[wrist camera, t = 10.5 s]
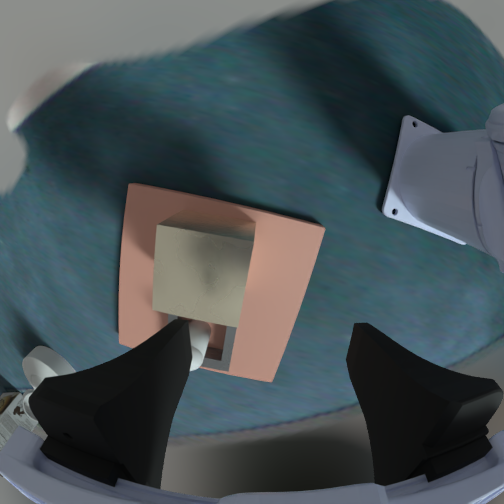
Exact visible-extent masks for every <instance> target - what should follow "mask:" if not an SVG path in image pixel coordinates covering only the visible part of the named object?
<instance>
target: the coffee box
mask: <svg viewBox="0 0 504 504" xmlns="http://www.w3.org/2000/svg"><path fill="white" fill-rule="evenodd" d="M37 423H38V422H37V421H34V420H32V419H31V418H29V417H28V416H27V414H26V413H25V411H24V408H23V395H22V394H21V393H20V392H9V393H2V395H1V396H0V451H1V450H2V449H3V447H4V446H5V444H6V443H7V441H8V440H9V438H10V437H11V435H12V434H13V433H14V431H15V430H16V428H17V427H18V426H22V427H24V428H25V429H27V430H29V431H31V432H32V431H33V429H34V428H35V426H36V425H37ZM0 475H1V474H0ZM1 476H2V475H1ZM2 477H3V476H2Z"/></svg>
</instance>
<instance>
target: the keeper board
mask: <svg viewBox="0 0 504 504" xmlns="http://www.w3.org/2000/svg"><path fill="white" fill-rule="evenodd" d="M181 210H188V211H194V212H200V213H206V214H212V215H218V216H224V217H230V218H235V219H241V220H247V221H252V222H256V228H255V238H254V245H253V250H252V256H251V261H250V266H249V272H248V277H247V282H246V288H245V293H244V298H243V304H242V309H241V314H240V320H239V325H238V328H237V329H236V335H235V340H234V346H233V351H232V356H231V362H230V367H229V372H227V371H222V370H216V369H211V368H206V367H201V364H202V363H203V359H204V356H205V352H206V349H207V347H213V348H218V349H223V347H224V341H225V335H226V329H227V326H226V325H220V324H215V323H210V322H205V321H200V320H195V319H190V318H186V317H182V320H188V321H189V331H190V340H191V348H192V356H193V357H192V362H191V367H190V371H192V370H196V369H197V368H203V369H207V370H212V371H216V372H220V373H225V374H229V375H234V376H239V377H244V378H250V379H255V380H261V381H266V382H272V381H273V378H274V376H275V373H276V371H277V368H278V366H279V363H280V360H281V358H282V355H283V353H284V350H285V347H286V345H287V342H288V339H289V337H290V334H291V331H292V328H293V326H294V323H295V320H296V317H297V315H298V312H299V309H300V306H301V303H302V300H303V297H304V294H305V291H306V288H307V285H308V282H309V279H310V276H311V273H312V270H313V267H314V264H315V261H316V257H317V254H318V251H319V248H320V245H321V241H322V238H323V235H324V231H325V227H324V226H323V225H320V224H316V223H312V222H309V221H305V220H301V219H297V218H293V217H289V216H285V215H281V214H277V213H273V212H269V211H265V210H261V209H257V208H252V207H248V206H244V205H240V204H235V203H231V202H226V201H222V200H218V199H213V198H208V197H204V196H199V195H194V194H190V193H185V192H180V191H175V190H170V189H165V188H160V187H155V186H150V185H144V184H139V183H130V184H129V186H128V192H127V199H126V207H125V215H124V224H123V234H122V245H121V258H120V277H119V343H120V344H122V345H125V346H128V347H131V348H135V347H136V346H138V345H139V344H141V343H142V342H144V341H146V340H147V339H148V338H150V337H151V336H153V335H154V334H155V333H157V332H158V331H159V330H161V329H162V328H163V327H165V326H166V325H167V324H168V313H163V312H159V311H155V310H152V301H153V273H154V256H155V242H156V229H157V224H159V223H160V222H162V221H164V220H166V219H167V218H169V217H171V216H173V215H174V214H176V213H178V212H180V211H181Z"/></svg>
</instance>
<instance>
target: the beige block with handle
mask: <svg viewBox="0 0 504 504" xmlns="http://www.w3.org/2000/svg"><path fill="white" fill-rule="evenodd" d="M255 228H256V222H252V221H247V220H241V219H235V218H230V217H224V216H218V215H212V214H206V213H200V212H194V211H188V210H181V211H180V212H178V213H176V214H174V215H173V216H171V217H169V218H167V219H166V220H164V221H162V222H160V223H159V224H157V229H156V242H155V256H154V273H153V301H152V310H155V311H159V312H163V313H168V324H169V323H170V322H171V321H173V320H174V319H181V320H182V317H186V318H190V319H195V320H200V321H205V322H210V323H215V324H220V325H226V326H227V329H226V335H225V341H224V347H223V349H218V348H213V347H207V349H206V352H205V356H204V359H203V363H202V364H201V367H206V368H211V369H216V370H222V371H227V372H229V367H230V362H231V356H232V351H233V346H234V340H235V335H236V329H237V328H238V325H239V320H240V314H241V309H242V304H243V298H244V293H245V288H246V282H247V277H248V272H249V266H250V261H251V256H252V250H253V245H254V238H255Z"/></svg>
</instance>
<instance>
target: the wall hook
mask: <svg viewBox="0 0 504 504" xmlns="http://www.w3.org/2000/svg"><path fill="white" fill-rule="evenodd" d="M22 365H23V370H24V373H25V375H26V377H27V379H28V381H29V382H30V384H31V385H32V386H33V388H34V389H36V388H37V387H38V386H39V384H40V383H41V382H42V381H43V380H44V378H45V377H53V376H60V375H66V374H71V373H75V372H76V371H75V370H74V369H73V368H72V366H71V365H70V364H69V363H68V362H67V361H66V360H65V359H64V358H63V357H62V356H60V355H59V354H58V353H56V352H55V351H53V350H52V349H50V348H48V347H45V346H37V347H35V348H34V349H33V350H32V351H31V352H30V353H29V354H28V355H27V356H26V357H25V358H24V359H23V363H22ZM34 391H35V390H33V389H29V390H26V391H25V392H24V394H23V408H24V411H25V413H26V414H27V416H28V417H29V418H31V419H32V420H34V421H37V419H36V418H35V416H34V415H33V413H32V411H31V409H30V406H29V403H28V400H29V397H30V395H31V394H32V393H33V392H34ZM37 422H38V421H37Z"/></svg>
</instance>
